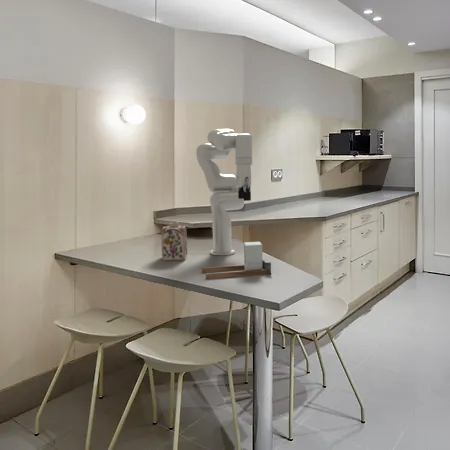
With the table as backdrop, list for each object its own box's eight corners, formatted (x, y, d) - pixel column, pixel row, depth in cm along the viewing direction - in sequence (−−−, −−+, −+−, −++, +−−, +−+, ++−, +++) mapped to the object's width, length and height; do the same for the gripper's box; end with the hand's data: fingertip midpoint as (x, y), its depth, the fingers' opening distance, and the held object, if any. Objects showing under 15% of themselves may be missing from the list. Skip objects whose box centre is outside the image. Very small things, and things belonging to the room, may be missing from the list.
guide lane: (201, 271, 220) (201, 260, 219) (262, 267, 225) (262, 256, 225) (206, 278, 208) (206, 267, 207) (270, 273, 214) (270, 262, 213)
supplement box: (260, 269, 222) (260, 241, 220) (262, 273, 215) (262, 244, 213) (244, 269, 222) (243, 241, 220) (245, 273, 214) (245, 245, 213)
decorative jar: (185, 260, 243) (184, 224, 240) (161, 261, 243) (160, 224, 240) (187, 255, 254) (186, 220, 252) (165, 255, 255) (163, 221, 252)
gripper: (231, 161, 232) (232, 198, 235) (240, 162, 215) (241, 201, 218) (247, 161, 234) (247, 197, 236) (257, 161, 217) (257, 201, 220)
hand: (244, 199), depth 227 cm, fingers open, 9 cm apart
